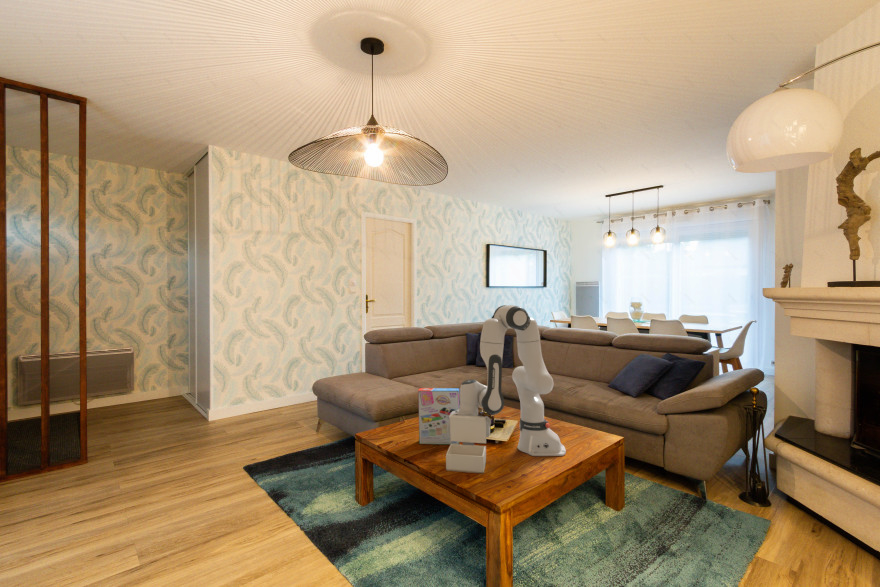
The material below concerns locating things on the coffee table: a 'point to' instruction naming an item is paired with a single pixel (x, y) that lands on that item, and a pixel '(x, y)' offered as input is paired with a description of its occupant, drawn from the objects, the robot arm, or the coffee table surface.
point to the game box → (436, 414)
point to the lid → (468, 429)
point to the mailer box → (466, 458)
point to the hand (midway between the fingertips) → (468, 444)
